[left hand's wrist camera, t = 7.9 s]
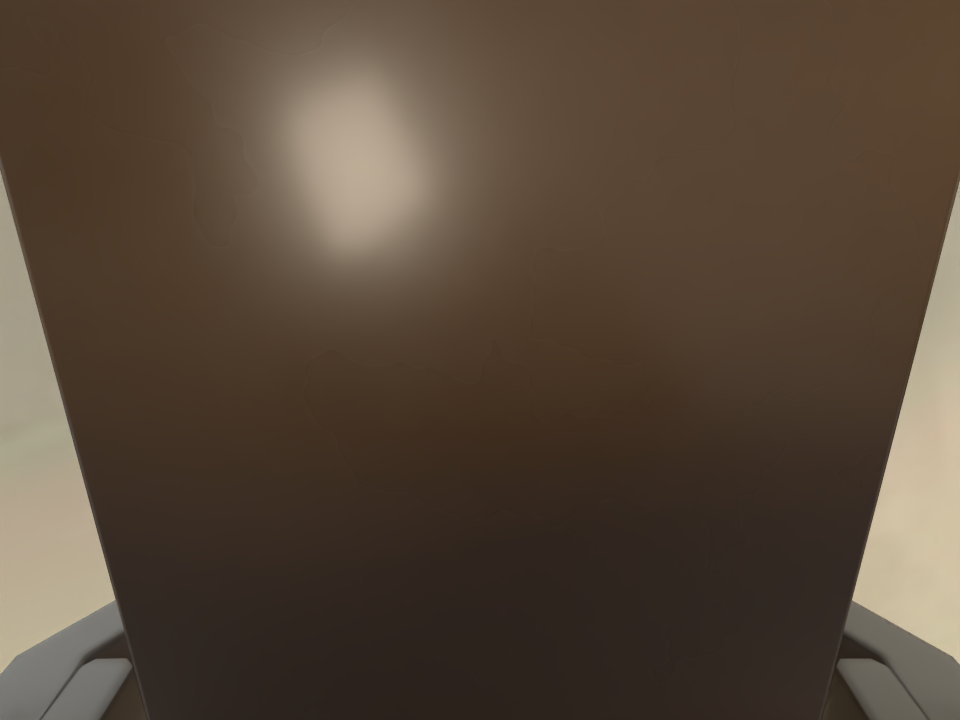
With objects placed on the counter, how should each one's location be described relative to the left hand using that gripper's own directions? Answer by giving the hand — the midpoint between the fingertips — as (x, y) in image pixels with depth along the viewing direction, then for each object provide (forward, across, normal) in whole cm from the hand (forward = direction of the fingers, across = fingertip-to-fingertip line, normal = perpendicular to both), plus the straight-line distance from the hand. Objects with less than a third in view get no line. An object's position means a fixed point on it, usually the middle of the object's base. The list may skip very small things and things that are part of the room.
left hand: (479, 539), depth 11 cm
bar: (+3, 0, -8) cm, 9 cm away
